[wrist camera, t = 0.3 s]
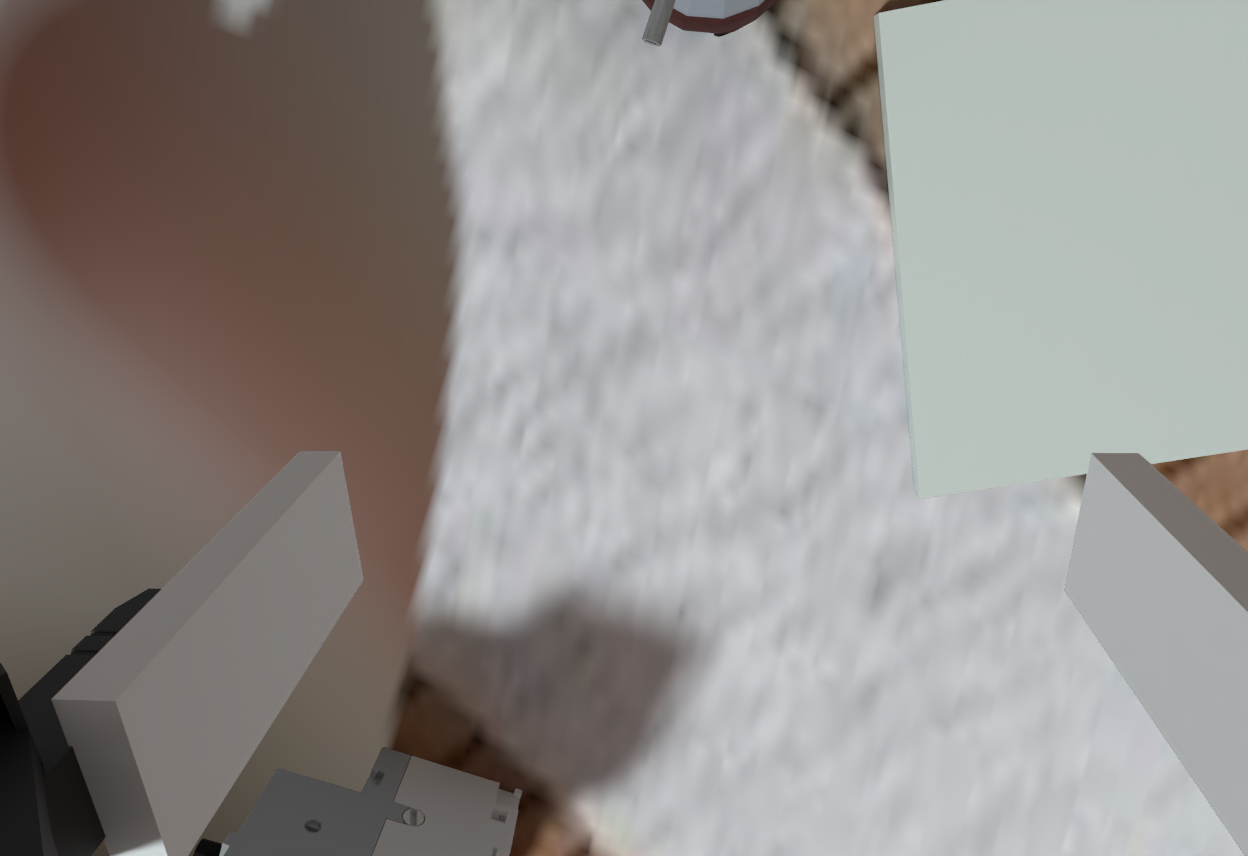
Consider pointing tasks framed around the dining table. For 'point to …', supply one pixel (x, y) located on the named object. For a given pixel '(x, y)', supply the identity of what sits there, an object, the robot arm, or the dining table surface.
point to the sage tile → (1067, 232)
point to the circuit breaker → (378, 815)
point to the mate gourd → (701, 16)
